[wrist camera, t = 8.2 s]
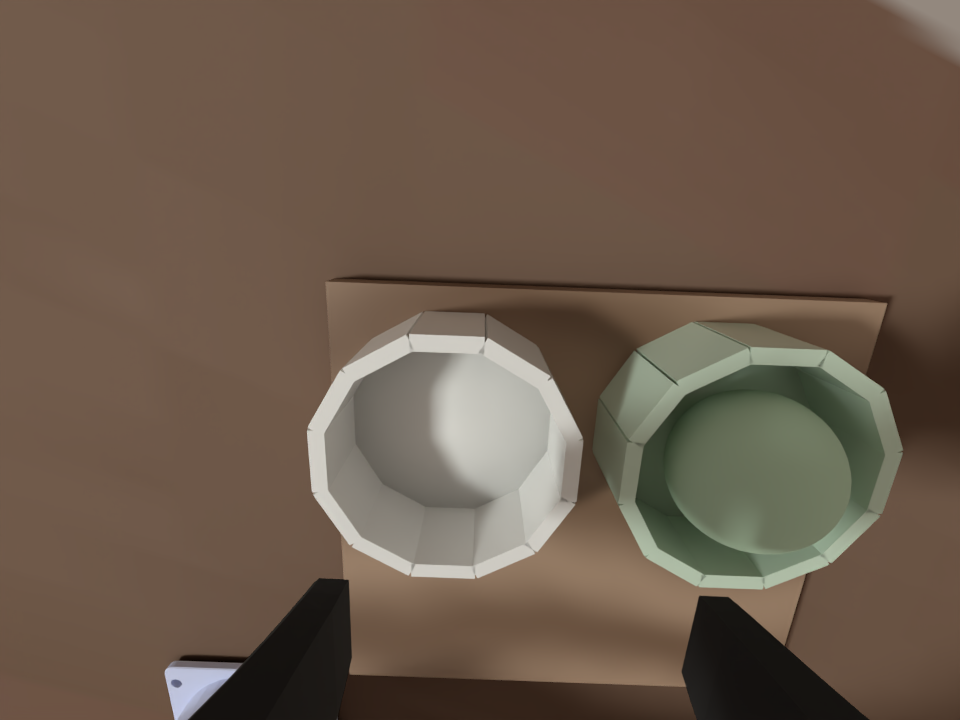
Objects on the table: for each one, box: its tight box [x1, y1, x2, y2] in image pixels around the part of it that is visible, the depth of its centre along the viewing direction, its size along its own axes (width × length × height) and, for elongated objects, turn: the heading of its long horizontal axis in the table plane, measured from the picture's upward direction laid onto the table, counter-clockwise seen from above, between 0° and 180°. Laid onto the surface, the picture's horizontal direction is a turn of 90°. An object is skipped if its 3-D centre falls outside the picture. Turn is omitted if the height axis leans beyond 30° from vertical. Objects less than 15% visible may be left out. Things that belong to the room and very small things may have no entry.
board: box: [326, 278, 887, 687], centre depth 18 cm, size 18×20×1 cm
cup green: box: [592, 321, 903, 590], centre depth 15 cm, size 8×8×4 cm
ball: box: [663, 389, 852, 555], centre depth 14 cm, size 5×5×5 cm
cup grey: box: [307, 311, 583, 579], centre depth 15 cm, size 8×8×4 cm
